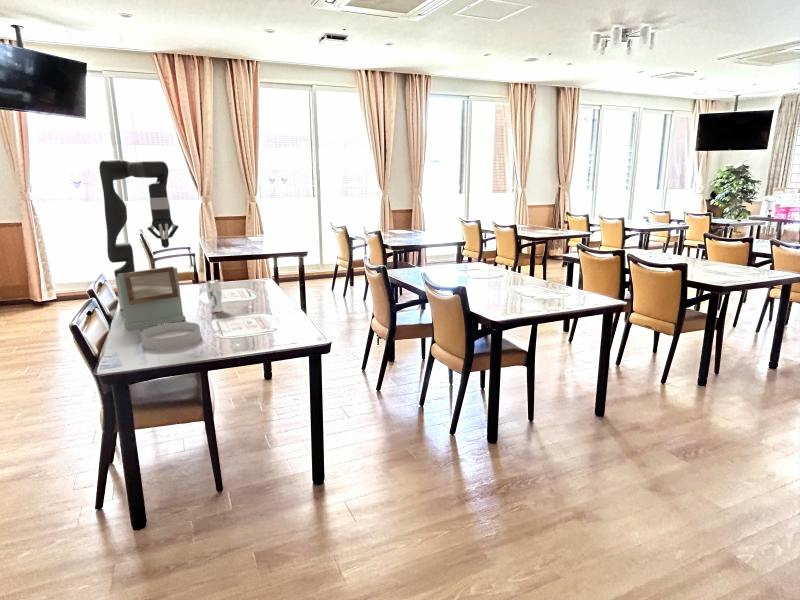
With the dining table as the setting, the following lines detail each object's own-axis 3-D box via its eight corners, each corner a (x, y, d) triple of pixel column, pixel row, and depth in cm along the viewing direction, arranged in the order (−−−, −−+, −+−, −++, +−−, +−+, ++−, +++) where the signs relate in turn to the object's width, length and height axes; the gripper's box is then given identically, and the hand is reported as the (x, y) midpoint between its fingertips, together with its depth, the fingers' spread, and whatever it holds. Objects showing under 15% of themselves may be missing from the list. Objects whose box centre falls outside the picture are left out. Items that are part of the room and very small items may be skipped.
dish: (134, 342, 208) (132, 330, 207) (188, 330, 223) (186, 319, 222) (154, 354, 192) (152, 342, 191) (210, 340, 207) (209, 329, 206)
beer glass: (208, 313, 248) (204, 283, 244) (209, 310, 254) (206, 280, 251) (223, 312, 249) (220, 282, 246) (224, 308, 256) (221, 279, 252)
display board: (124, 323, 234) (116, 272, 228) (180, 315, 247) (173, 265, 241) (127, 330, 224) (119, 276, 218) (185, 320, 237) (179, 269, 231)
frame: (129, 304, 225) (123, 273, 222) (177, 295, 236) (172, 266, 232) (130, 305, 224) (123, 273, 220) (178, 296, 234) (173, 266, 230)
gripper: (174, 206, 230) (179, 245, 235) (142, 208, 223) (148, 248, 228) (178, 207, 224) (183, 246, 228) (145, 209, 217) (150, 249, 221)
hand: (165, 247), depth 228 cm, fingers closed
